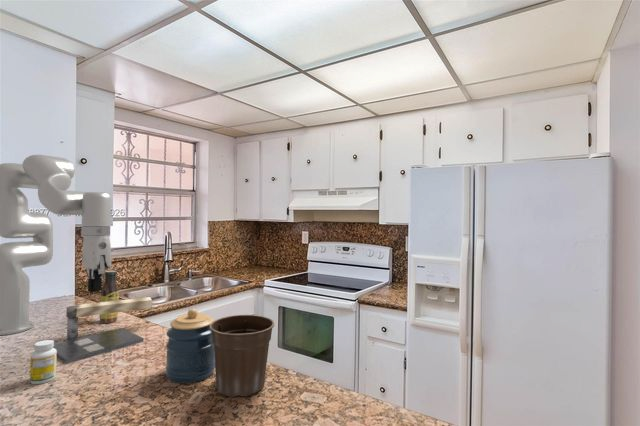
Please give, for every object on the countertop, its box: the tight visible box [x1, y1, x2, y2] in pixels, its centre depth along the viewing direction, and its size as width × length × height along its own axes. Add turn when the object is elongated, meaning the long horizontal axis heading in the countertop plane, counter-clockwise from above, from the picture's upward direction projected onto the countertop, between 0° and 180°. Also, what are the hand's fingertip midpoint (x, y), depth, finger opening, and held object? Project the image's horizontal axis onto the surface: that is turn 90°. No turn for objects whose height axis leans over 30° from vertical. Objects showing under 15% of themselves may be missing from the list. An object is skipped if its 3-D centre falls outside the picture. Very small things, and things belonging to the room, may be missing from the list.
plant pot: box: [210, 314, 275, 398], centre depth 89 cm, size 16×16×16 cm
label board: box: [53, 317, 145, 365], centre depth 114 cm, size 22×22×8 cm
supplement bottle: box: [29, 339, 58, 385], centre depth 90 cm, size 5×5×10 cm
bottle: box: [98, 270, 120, 324], centre depth 136 cm, size 7×6×20 cm
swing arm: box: [65, 296, 153, 318], centre depth 123 cm, size 26×5×3 cm, turn 125°
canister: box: [165, 308, 216, 384], centre depth 95 cm, size 13×13×18 cm
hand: (94, 290), depth 107 cm, fingers closed
